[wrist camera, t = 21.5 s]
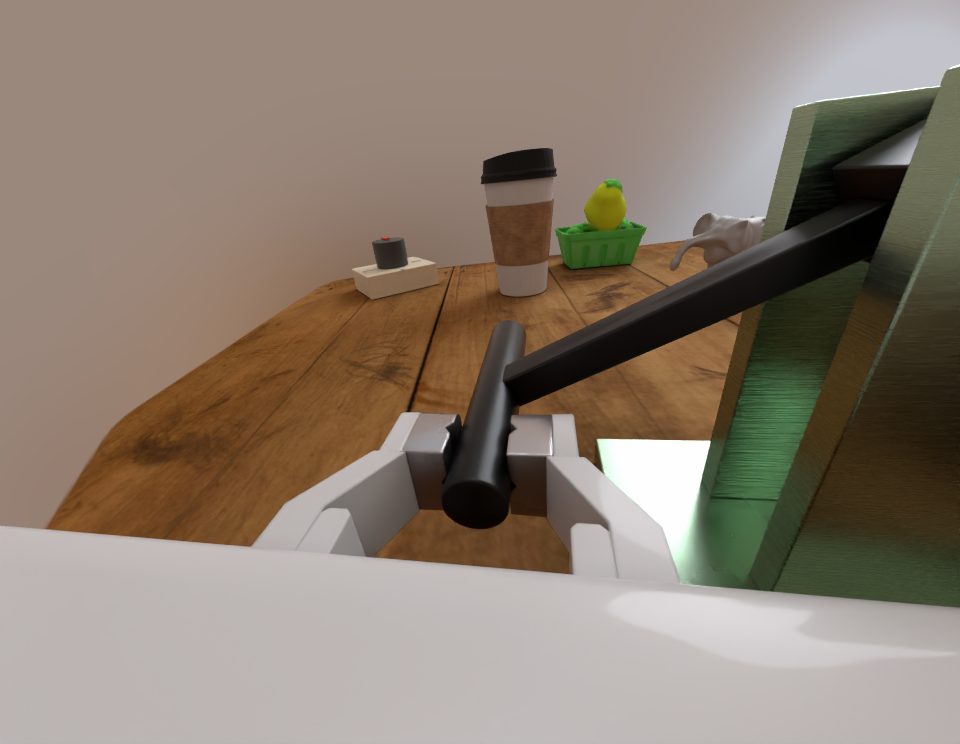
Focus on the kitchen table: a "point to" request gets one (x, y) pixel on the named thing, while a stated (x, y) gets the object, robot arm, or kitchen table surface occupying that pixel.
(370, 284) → the panel
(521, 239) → the coffee cup
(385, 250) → the knob
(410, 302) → the kitchen table surface
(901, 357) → the green metal lever stand
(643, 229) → the fruit basket
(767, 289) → the black lever handle
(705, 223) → the gray elephant figurine
